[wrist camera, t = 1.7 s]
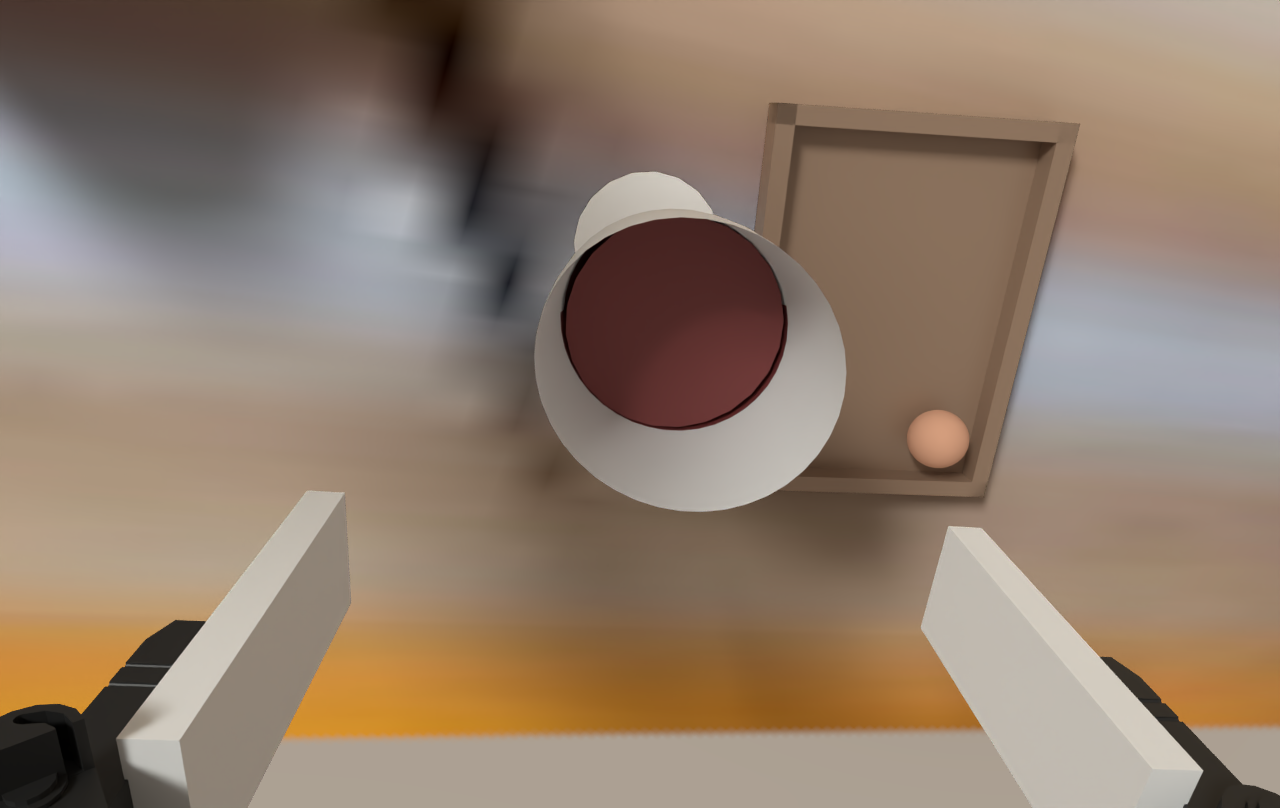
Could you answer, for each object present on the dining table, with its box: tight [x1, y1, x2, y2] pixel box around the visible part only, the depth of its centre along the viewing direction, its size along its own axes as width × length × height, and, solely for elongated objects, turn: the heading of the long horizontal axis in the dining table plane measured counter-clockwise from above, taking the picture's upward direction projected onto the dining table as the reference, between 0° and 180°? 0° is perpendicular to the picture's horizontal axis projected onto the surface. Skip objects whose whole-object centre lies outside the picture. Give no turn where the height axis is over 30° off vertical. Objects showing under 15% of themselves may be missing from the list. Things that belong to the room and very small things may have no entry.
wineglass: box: [534, 172, 846, 512], centre depth 32 cm, size 9×10×22 cm
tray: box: [754, 103, 1080, 497], centre depth 44 cm, size 22×16×2 cm
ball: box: [907, 410, 969, 468], centre depth 45 cm, size 4×4×4 cm
